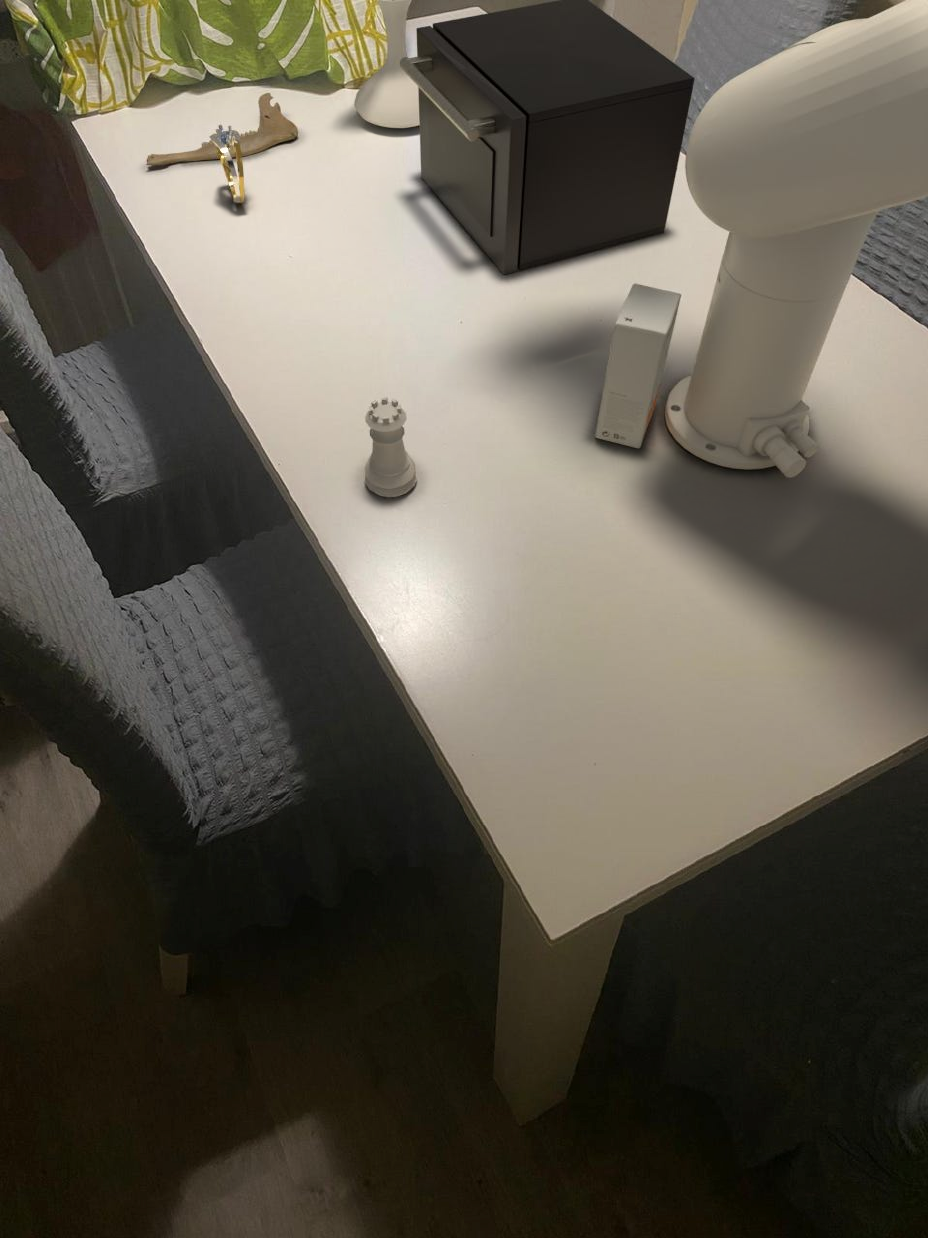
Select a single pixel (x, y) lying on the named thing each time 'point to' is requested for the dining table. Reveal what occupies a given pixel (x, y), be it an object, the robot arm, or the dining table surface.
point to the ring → (230, 160)
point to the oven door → (470, 146)
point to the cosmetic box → (636, 364)
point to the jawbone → (241, 137)
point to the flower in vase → (391, 77)
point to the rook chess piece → (388, 451)
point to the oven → (582, 123)
